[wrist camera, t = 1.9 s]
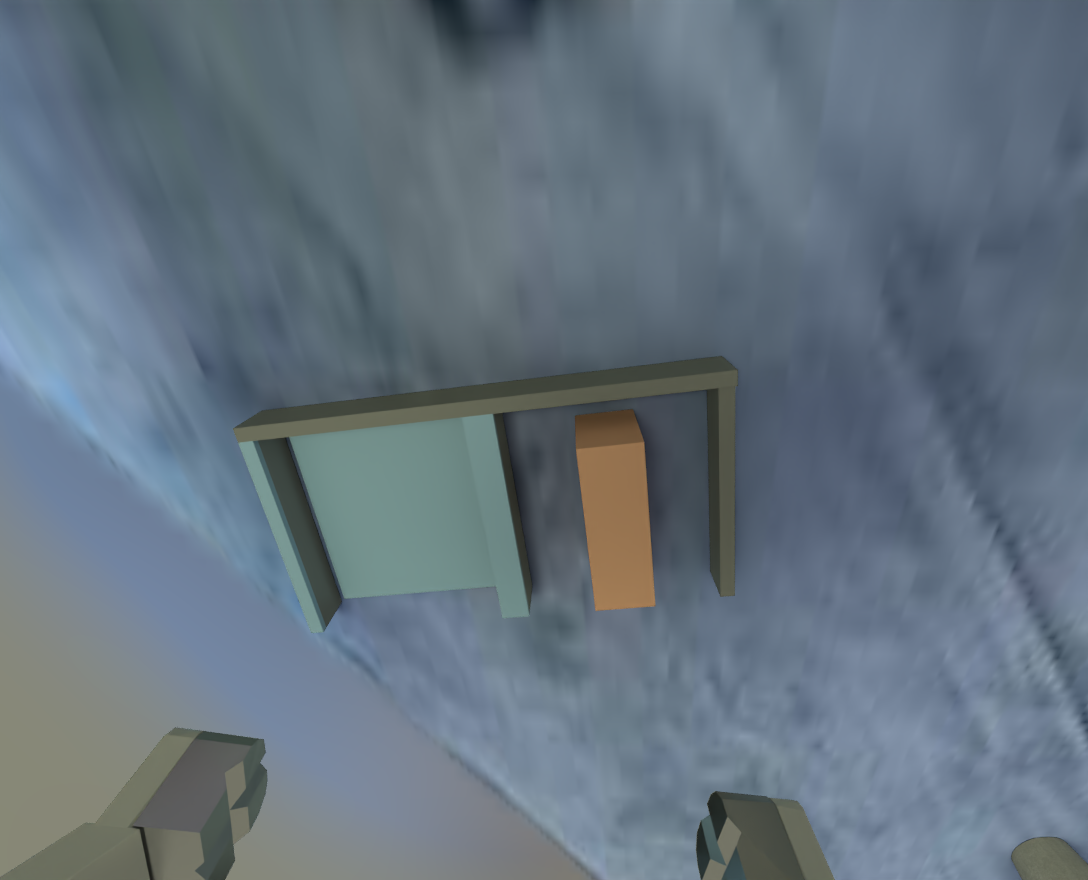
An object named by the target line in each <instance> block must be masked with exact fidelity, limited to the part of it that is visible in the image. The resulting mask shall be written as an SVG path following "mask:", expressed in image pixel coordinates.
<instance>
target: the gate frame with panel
mask: <svg viewBox="0 0 1088 880" xmlns="http://www.w3.org/2000/svg"><path fill="white" fill-rule="evenodd" d="M735 386H738V370H737V369H736V368H735V367H734V366H733V365H732V364H730V363H729V362H728V361H727V360H726V359H725V358H724V357H722V356H718V357H710V358H701V359H693V360H685V361H676V362H668V363H659V364H651V365H642V366H634V367H626V368H617V369H609V370H600V371H592V372H584V373H575V374H567V375H558V376H550V377H541V378H533V379H525V380H516V381H508V382H499V383H491V384H483V385H474V386H466V387H457V388H449V389H440V390H432V391H424V392H415V393H407V394H398V395H390V396H382V397H373V398H365V399H356V400H348V401H339V402H331V403H323V404H314V405H306V406H297V407H289V408H280V409H272V410H264V411H261V412H259V413H257V414H256V415H254V416H253V417H251V418H249V419H248V420H246V421H244V422H243V423H241V424H240V425H238V426H236V427H235V428H233V430H234V433H235V435H236V438H237V441H238V443H239V446H240V448H241V451H242V454H243V456H244V459H245V461H246V464H247V467H248V469H249V472H250V475H251V477H252V480H253V482H254V485H255V488H256V490H257V493H258V495H259V498H260V501H261V503H262V506H263V508H264V511H265V514H266V516H267V519H268V521H269V524H270V527H271V529H272V532H273V535H274V537H275V540H276V542H277V545H278V548H279V550H280V553H281V555H282V558H283V561H284V563H285V566H286V568H287V571H288V574H289V576H290V579H291V581H292V584H293V587H294V589H295V592H296V594H297V597H298V600H299V602H300V605H301V608H302V610H303V613H304V615H305V618H306V621H307V623H308V626H309V628H310V631H311V633H318V632H324V631H325V629H326V627H327V626H328V624H329V622H330V621H331V619H332V617H333V616H334V614H335V612H336V611H337V609H338V607H339V606H340V604H341V602H342V601H341V598H340V595H339V592H338V589H337V586H336V583H335V581H334V578H333V575H332V572H331V569H330V566H329V563H328V560H327V557H326V555H325V552H324V549H323V546H322V543H321V540H320V537H319V534H318V531H317V528H316V526H315V523H314V520H313V517H312V514H311V511H310V508H309V505H308V502H307V500H306V497H305V494H304V491H303V488H302V485H301V482H300V479H299V476H298V474H297V471H296V468H295V465H294V462H293V459H292V456H291V453H290V450H289V447H288V445H287V442H286V439H285V437H289V438H290V441H291V444H292V447H293V450H294V453H295V456H296V459H297V462H298V464H299V467H300V470H301V473H302V476H303V479H304V482H305V485H306V488H307V491H308V494H309V497H310V500H311V502H312V505H313V508H314V511H315V514H316V517H317V520H318V523H319V526H320V529H321V532H322V535H323V537H324V540H325V543H326V546H327V549H328V552H329V555H330V558H331V561H332V564H333V567H334V570H335V573H336V575H337V578H338V581H339V584H340V587H341V590H342V593H343V596H344V599H347V598H359V597H371V596H383V595H396V594H408V593H420V592H432V591H444V590H456V589H468V588H480V587H492V586H496V588H497V593H498V598H499V602H500V607H501V612H502V617H503V618H512V617H525V616H529V614H530V604H531V594H532V581H531V575H530V570H529V564H528V558H527V552H526V547H525V541H524V535H523V529H522V524H521V518H520V512H519V506H518V501H517V495H516V489H515V483H514V478H513V472H512V466H511V460H510V455H509V449H508V443H507V438H506V432H505V426H504V420H503V415H502V413H504V412H513V411H522V410H531V409H540V408H549V407H557V406H566V405H575V404H584V403H593V402H601V401H610V400H619V399H628V398H637V397H646V396H654V395H663V394H672V393H681V392H690V391H698V390H707V420H708V475H709V530H710V572H711V574H712V577H713V579H714V582H715V584H716V587H717V589H718V592H719V594H720V597H723V596H735Z"/></svg>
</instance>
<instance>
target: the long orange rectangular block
mask: <svg viewBox="0 0 1088 880" xmlns="http://www.w3.org/2000/svg"><path fill="white" fill-rule="evenodd" d="M575 432H576V453H577V461H578V469H579V478H580V486H581V494H582V502H583V511H584V519H585V527H586V535H587V543H588V552H589V560H590V568H591V576H592V585H593V593H594V601H595V609H596V611H599V610H612V609H625V608H637V607H650V606H655V594H654V579H653V565H652V550H651V535H650V520H649V506H648V491H647V476H646V462H645V447H644V440H643V437H642V434H641V431H640V428H639V426H638V423H637V420H636V417H635V414H634V411H633V409H630V410H621V411H612V412H603V413H594V414H585V415H576V416H575Z"/></svg>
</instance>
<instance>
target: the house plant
mask: <svg viewBox="0 0 1088 880" xmlns="http://www.w3.org/2000/svg"><path fill="white" fill-rule="evenodd" d="M1011 857H1012V861H1013V863H1014V865H1015V867H1016V869H1017V871H1018V873H1019V875H1020V876H1021V878H1022V880H1088V864H1087V863H1086V862H1085V861H1084V860H1083V859H1082V858H1081V857H1080V856H1079V855H1078V854H1077V853H1076V852H1075V851H1074V850H1073V849H1072V848H1071V847H1070V846H1069V845H1068V844H1067V843H1066V842H1065V841H1063V840H1062V839H1059V838H1055V837H1041V838H1034V839H1031V840H1028V841H1026V842H1024V843H1022V844H1020V845H1019V846H1018V847H1016V849H1015V850H1014V851H1013V853H1012V856H1011Z"/></svg>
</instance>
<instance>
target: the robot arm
mask: <svg viewBox="0 0 1088 880" xmlns="http://www.w3.org/2000/svg"><path fill="white" fill-rule="evenodd" d="M265 753H266V751H265V744H264V739H258V738H250V737H243V736H236V735H228V734H221V733H214V732H206V731H200V730H192V729H184V728H174V729H173V730H172V731H170V732H169V733H167V734H166V735H165V736H164V737H163V738H162V739H161V740H160V742H159V743H158V744H157V745H156V747H155V748H154V749H153V751H152V752H151V753H150V754H149V756H148V757H147V758H146V759H145V761H144V762H143V763H142V764H141V766H140V767H139V768H138V770H137V771H136V772H135V773H134V775H133V776H132V777H131V778H130V780H129V781H128V782H127V783H126V785H125V786H124V787H123V789H122V790H121V791H120V792H119V794H118V795H117V796H116V797H115V799H114V800H113V801H112V803H111V804H110V805H109V806H108V808H107V809H106V810H105V811H104V813H103V814H102V815H101V817H100V818H99V819H98V820H97V822H96V823H84V824H83V825H81V826H80V827H78V828H76V829H75V830H73V831H72V832H70V833H69V834H67V835H66V836H64V837H62V838H61V839H59V840H58V841H56V842H55V843H53V844H51V845H50V846H48V847H47V848H45V849H44V850H42V851H40V852H39V853H37V854H36V855H34V856H33V857H31V858H30V859H28V860H26V861H25V862H23V863H22V864H20V865H18V866H17V867H16V868H14V869H12V870H11V871H9V872H8V873H6V874H4V875H3V876H1V877H0V880H225V879H226V877H227V875H228V873H229V871H230V869H231V867H232V865H233V863H234V861H235V856H234V846H233V845H234V844H235V843H236V842H237V841H239V840H240V839H241V838H242V837H244V836H245V835H246V834H247V833H249V832H250V830H251V828H252V826H253V824H254V822H255V820H256V818H257V816H258V814H259V811H260V809H261V806H262V803H263V799H264V797H265V794H266V787H267V770H266V769H265V768H264V767H263V765H262V764H261V763H260V762H261V760H262V758H263V756H264V754H265ZM707 805H708V809H709V813H710V815H708V816H707V817H705V818H704V819H702V820H701V822H700V825H699V828H698V831H697V842H696V854H697V863H698V868H699V873H700V878H701V880H835V879H834V877H833V875H832V872H831V870H830V868H829V866H828V863H827V861H826V859H825V857H824V854H823V852H822V850H821V848H820V845H819V843H818V841H817V839H816V836H815V834H814V832H813V829H812V827H811V825H810V823H809V820H808V818H807V816H806V814H805V811H804V809H803V807H802V806H801V805H800V804H799V803H798V801H794V800H788V799H777V798H768V797H766V796H758V795H748V794H738V793H728V792H718V791H715V792H714V793H712V794H711V795H710V798H709V800H708V803H707Z"/></svg>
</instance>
